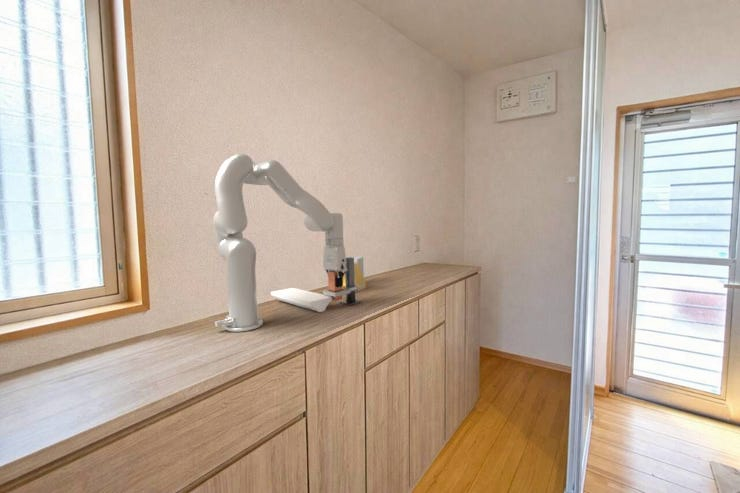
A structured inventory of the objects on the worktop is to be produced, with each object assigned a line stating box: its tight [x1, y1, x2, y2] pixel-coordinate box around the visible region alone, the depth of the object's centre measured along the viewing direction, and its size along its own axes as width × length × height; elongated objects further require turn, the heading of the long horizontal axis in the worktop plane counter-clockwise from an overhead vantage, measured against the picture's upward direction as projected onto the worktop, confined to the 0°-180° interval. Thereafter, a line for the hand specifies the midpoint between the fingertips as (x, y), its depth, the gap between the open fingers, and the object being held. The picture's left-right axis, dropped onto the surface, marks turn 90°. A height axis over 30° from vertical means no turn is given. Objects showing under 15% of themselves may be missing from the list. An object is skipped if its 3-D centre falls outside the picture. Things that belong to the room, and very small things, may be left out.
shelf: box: [270, 287, 333, 313], centre depth 147 cm, size 12×30×5 cm, turn 46°
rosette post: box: [322, 256, 363, 307], centre depth 146 cm, size 17×8×20 cm, turn 136°
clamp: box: [339, 263, 367, 297], centre depth 172 cm, size 20×9×16 cm, turn 152°
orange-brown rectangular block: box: [327, 271, 343, 302], centre depth 142 cm, size 4×4×12 cm
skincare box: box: [352, 256, 365, 277], centre depth 186 cm, size 8×7×16 cm
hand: (335, 285), depth 142 cm, fingers closed on orange-brown rectangular block, 4 cm apart
